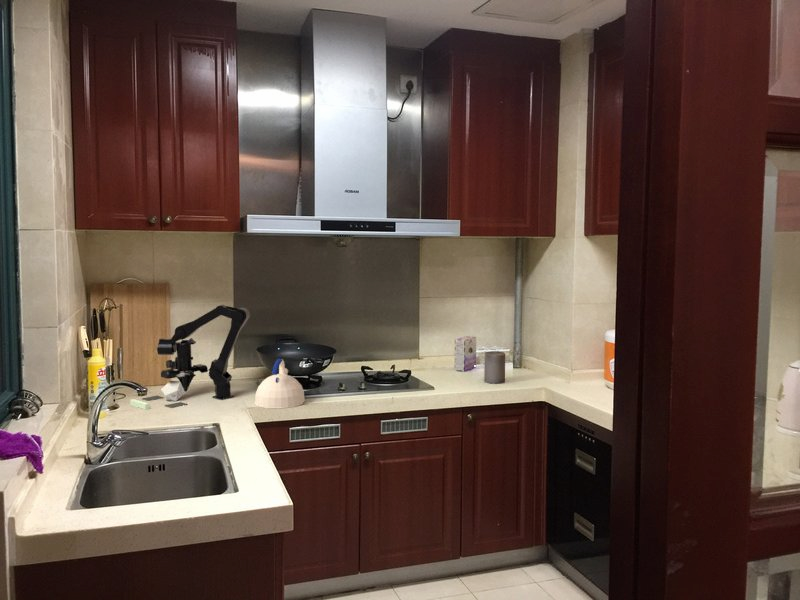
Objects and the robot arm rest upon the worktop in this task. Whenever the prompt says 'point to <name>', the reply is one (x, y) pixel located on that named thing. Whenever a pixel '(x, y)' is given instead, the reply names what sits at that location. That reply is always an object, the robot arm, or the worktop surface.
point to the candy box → (465, 353)
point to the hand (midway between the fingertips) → (185, 391)
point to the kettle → (279, 389)
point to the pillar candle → (494, 367)
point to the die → (173, 390)
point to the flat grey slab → (146, 405)
